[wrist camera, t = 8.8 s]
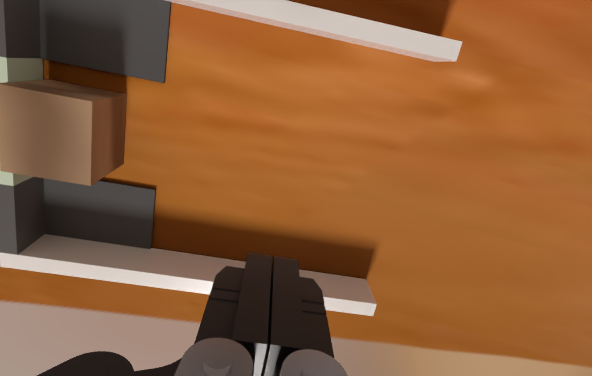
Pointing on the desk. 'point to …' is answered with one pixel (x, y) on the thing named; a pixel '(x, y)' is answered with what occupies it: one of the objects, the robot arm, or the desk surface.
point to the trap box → (140, 200)
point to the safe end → (14, 72)
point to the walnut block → (61, 130)
